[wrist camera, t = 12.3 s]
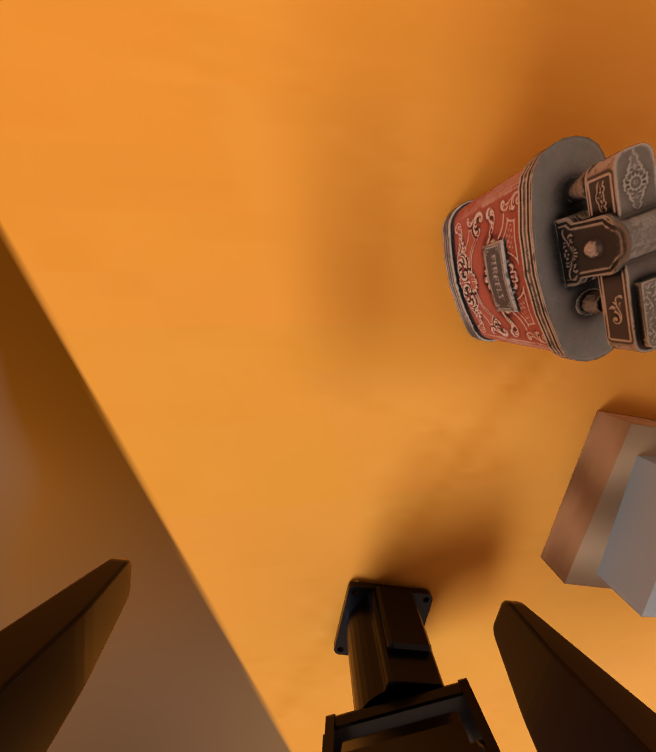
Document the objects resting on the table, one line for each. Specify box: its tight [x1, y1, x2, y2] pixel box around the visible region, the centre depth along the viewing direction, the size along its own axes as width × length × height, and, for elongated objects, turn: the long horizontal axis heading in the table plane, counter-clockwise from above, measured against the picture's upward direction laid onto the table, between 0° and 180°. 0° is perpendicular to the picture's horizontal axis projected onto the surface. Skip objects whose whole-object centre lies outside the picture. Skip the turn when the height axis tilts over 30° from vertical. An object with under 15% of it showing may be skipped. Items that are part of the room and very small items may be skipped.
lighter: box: [443, 136, 656, 361], centre depth 14 cm, size 8×3×10 cm, turn 20°
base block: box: [541, 411, 656, 589], centre depth 22 cm, size 12×12×3 cm
